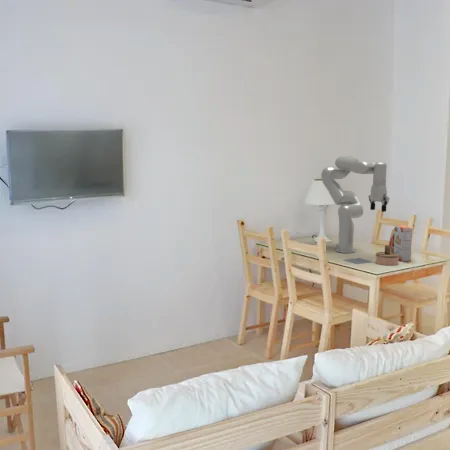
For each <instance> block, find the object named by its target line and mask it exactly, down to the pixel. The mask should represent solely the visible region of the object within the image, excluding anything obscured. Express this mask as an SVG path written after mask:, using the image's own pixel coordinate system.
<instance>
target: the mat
mask: <svg viewBox="0 0 450 450" xmlns="http://www.w3.org/2000/svg"><path fill="white" fill-rule="evenodd" d="M343 261H345V262H348V263H350V264H351V263H352V264H355V265H360V264H361V265H362V264H369V263H373V261H372V260H367V259H364V258H360V257H358V258H355V257H354V258H349V259H343Z"/></svg>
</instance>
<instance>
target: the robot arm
mask: <svg viewBox="0 0 450 450" xmlns="http://www.w3.org/2000/svg"><path fill="white" fill-rule="evenodd" d="M350 173H354V174H359V175H373V178H372V185H371V188H370V194H369V195H368V201H369V204H370V208H369V209H370V211H375V210H376V203H377V202H378V203H379V202H381V208H380V209H381V212H383V213H384V212H385V213H386V212H387V205H388V203H389V201H390V197H389V196H387V195H388V193H387V192H388V191H387V183H386V182H387V163H386V162H383V161H381V162H378V161H359V159H358V158H356V157H354V156H350V155H349V156H348V155H347V156H346V155H345V156H338V157H337V158H336V159H335V162H334V166H327V167H324V168H323V169H322V171H321V174H320V175H321V176H320V178H321V181H322V183H323V185H324V187H325V188H326V190H327V191H328V193H329V195H330V197H331V200H333V202H334V204H335V205H336V206H339V207H338V210H337V214H338V243H337V244H335V247H337V248H335V251H336V252H337V253H342V254H353V253H356V250H355V249H354V233H355V232H354V230H355V228H354V227H355V224H354V222H353V219H358V218H361V217H362V216H363V214H364V208H363V205H362V203H361V202H360V200H359V198H358V197H357V195H356V193H354V192H353V191H352V190H343V189H342V187H341V185H340V184H339V182H337V181H336V180H342V179H345V178H346V177H348V176H349V174H350Z"/></svg>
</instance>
